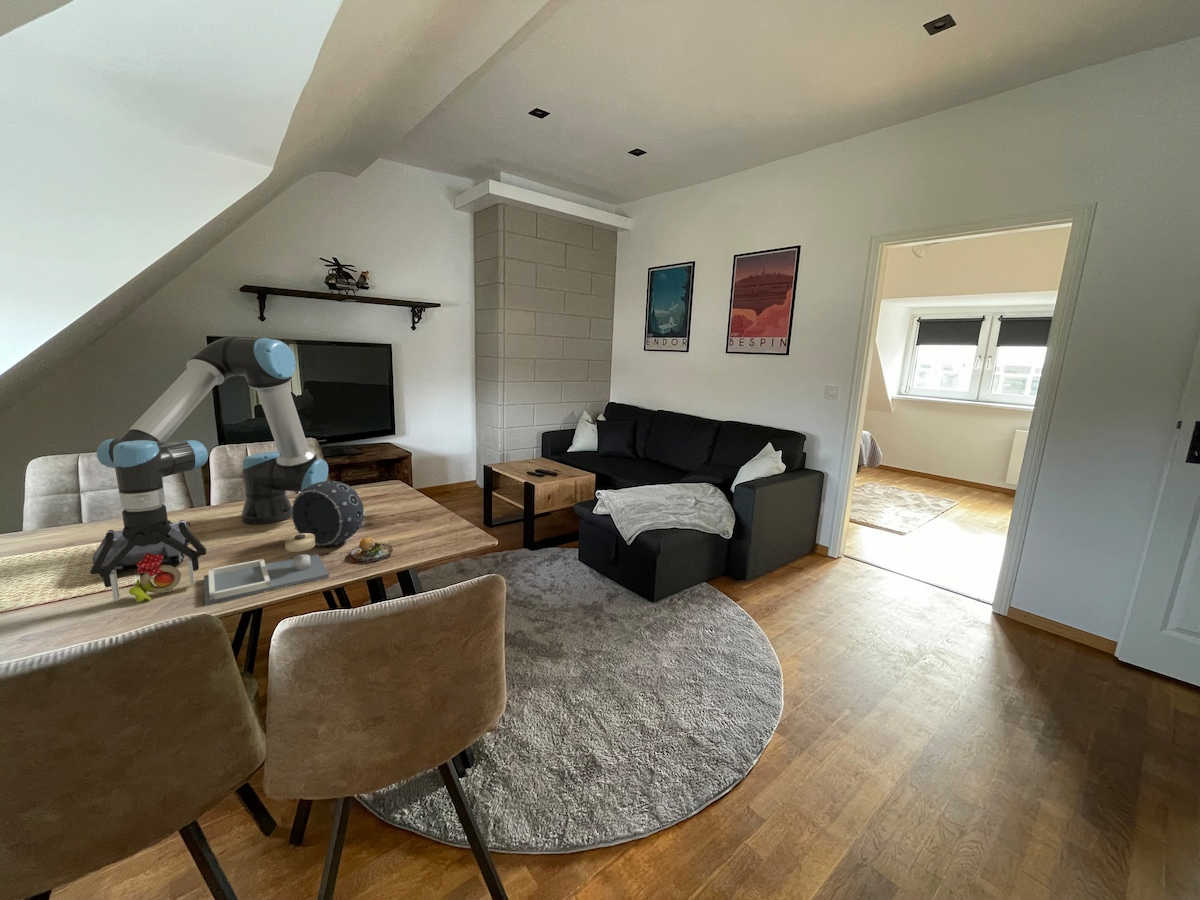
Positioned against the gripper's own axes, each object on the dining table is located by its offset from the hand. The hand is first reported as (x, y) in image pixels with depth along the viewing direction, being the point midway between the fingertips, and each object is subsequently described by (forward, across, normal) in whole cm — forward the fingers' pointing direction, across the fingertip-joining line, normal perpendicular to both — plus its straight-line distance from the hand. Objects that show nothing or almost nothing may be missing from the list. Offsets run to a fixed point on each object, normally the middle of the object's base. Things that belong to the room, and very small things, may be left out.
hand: (156, 590), depth 117 cm
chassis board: (+1, +22, -4) cm, 22 cm away
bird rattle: (+2, 0, 0) cm, 2 cm away
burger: (+2, +48, -3) cm, 48 cm away
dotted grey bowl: (+2, +40, +13) cm, 42 cm away
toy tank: (+2, -3, +27) cm, 27 cm away
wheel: (-6, +30, -4) cm, 31 cm away
